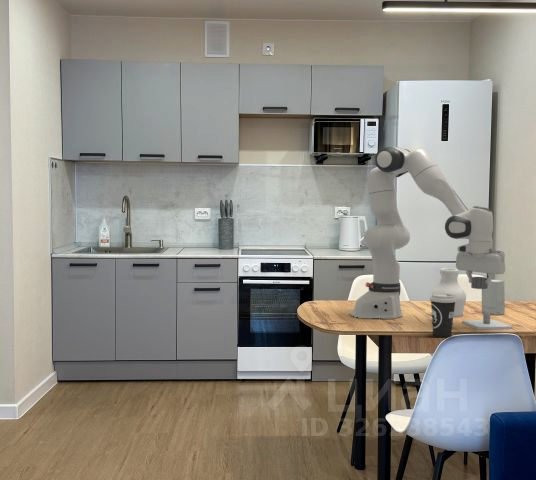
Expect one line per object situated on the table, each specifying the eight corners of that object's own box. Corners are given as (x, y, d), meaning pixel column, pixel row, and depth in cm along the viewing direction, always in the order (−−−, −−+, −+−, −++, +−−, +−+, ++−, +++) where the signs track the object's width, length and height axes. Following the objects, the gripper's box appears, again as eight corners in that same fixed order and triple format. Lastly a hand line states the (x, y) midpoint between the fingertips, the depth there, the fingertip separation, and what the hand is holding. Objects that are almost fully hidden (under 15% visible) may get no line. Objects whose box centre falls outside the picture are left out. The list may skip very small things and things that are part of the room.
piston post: (478, 329, 250) (478, 314, 249) (462, 322, 263) (462, 308, 263) (511, 329, 252) (512, 313, 251) (494, 322, 265) (494, 307, 265)
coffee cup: (448, 339, 232) (449, 297, 231) (424, 335, 239) (425, 294, 238) (460, 335, 239) (461, 294, 238) (436, 331, 246) (437, 292, 245)
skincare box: (504, 314, 284) (506, 280, 283) (496, 315, 280) (497, 281, 279) (488, 311, 291) (490, 278, 290) (480, 312, 287) (481, 279, 286)
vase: (426, 311, 288) (427, 267, 286) (457, 311, 289) (459, 267, 288) (438, 317, 274) (439, 270, 272) (470, 317, 275) (472, 270, 274)
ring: (475, 289, 249) (475, 278, 249) (468, 286, 255) (469, 276, 255) (490, 288, 250) (490, 278, 249) (483, 286, 256) (483, 276, 255)
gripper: (509, 249, 245) (508, 286, 246) (463, 246, 261) (462, 280, 262) (499, 250, 241) (498, 287, 242) (454, 247, 258) (453, 281, 258)
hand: (479, 283), depth 252 cm, fingers closed on ring, 6 cm apart
